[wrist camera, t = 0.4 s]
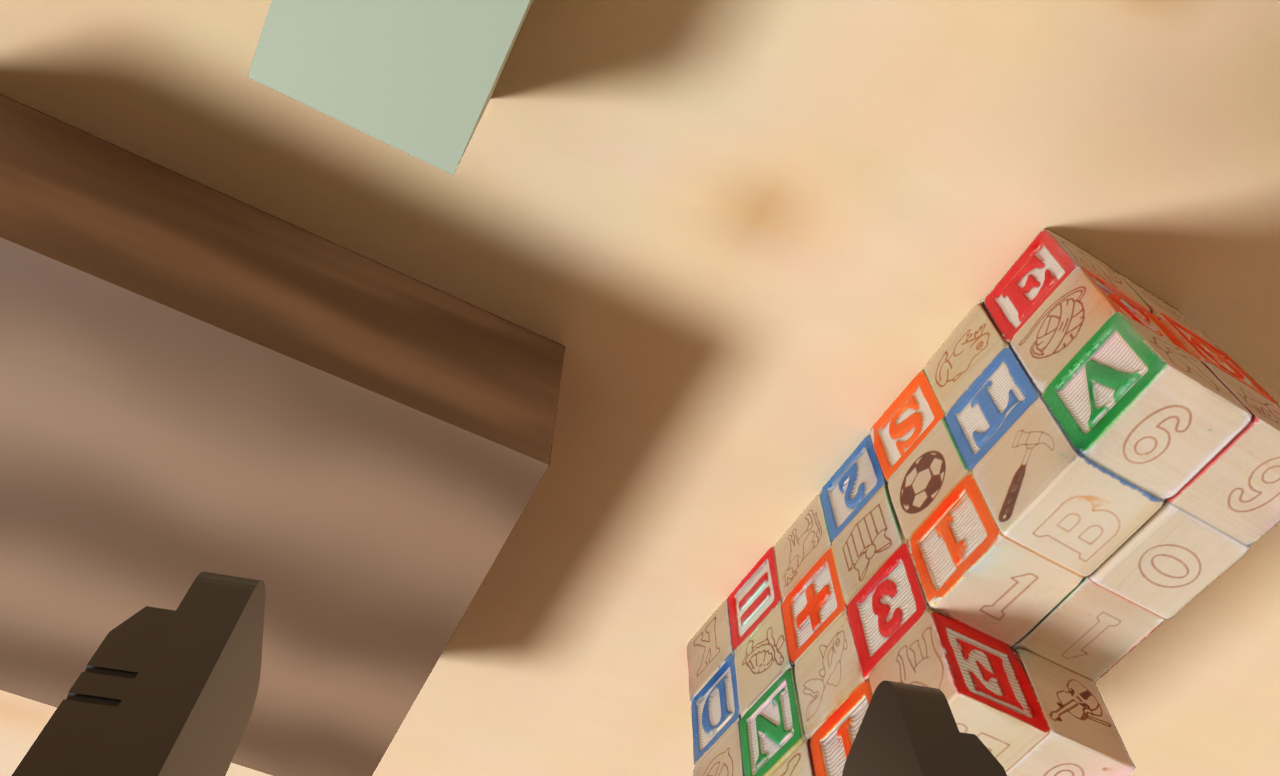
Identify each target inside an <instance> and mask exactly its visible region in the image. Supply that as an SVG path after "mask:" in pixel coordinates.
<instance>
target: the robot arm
mask: <svg viewBox="0 0 1280 776" xmlns="http://www.w3.org/2000/svg"><path fill="white" fill-rule="evenodd" d="M265 592H266V591H265V583H264V581H262V580H255V579H249V578H243V577H236V576H230V575H224V574H217V573H211V572H201V573H200V574H199V575H198V576H197V577H196V578H195V580H194V582H193V583H192V585H191V586H190V588H189V590H188V591H187V593H186V595H185V596H184V598H183V600H182V601H181V603H180V605H179V606H178V608H177V610H176V611H175V610H169V609H162V608H156V607H149V606H146V607H144V608H143V609H141V610H140V611H138V612H137V613H136V614H134V615H133V616H131V617H130V618H128V619H127V620H126V621H124V622H123V623H121V624H120V625H118V626H117V627H116V628H114V629H113V630H111V631H110V632H109V633H108V634H107V636H106V637H105V639H104V640H103V642H102V643H101V645H100V646H99V648H98V649H97V651H96V652H95V654H94V655H93V656H92V658H91V659H90V661H89V662H88V664H87V667H86V670H85V672H82V673H81V674H80V676H79V677H78V679H77V680H76V682H75V683H74V684H73V686H72V687H71V689H70V690H69V692H68V696H67V699H66V700H65V699H63V701H62V702H61V704H60V705H59V707H58V708H57V710H56V711H55V713H54V714H53V715H52V717H51V718H50V720H49V721H48V723H47V724H46V726H45V727H44V729H43V730H42V732H41V733H40V735H39V736H38V738H37V739H36V741H35V742H34V743H33V745H32V746H31V748H30V749H29V751H28V752H27V754H26V755H25V757H24V758H23V760H22V761H21V763H20V764H19V766H18V767H17V769H16V770H15V772H14V773H13V774H12V776H225V775H226V772H227V770H228V768H229V766H230V763H231V761H232V759H233V757H234V754H235V752H236V750H237V748H238V745H239V743H240V741H241V738H242V736H243V734H244V732H245V729H246V727H247V725H248V722H249V720H250V717H251V714H252V711H253V707H254V704H255V700H256V696H257V692H258V687H259V681H260V674H261V659H262V643H263V627H264V610H265ZM842 776H1007V774H1006V772H1005V770H1004V767H1003V766H1002V765H1001V764H1000V763H999V762H998V760H997V759H996V758H995V757H994V756H993V754H992V753H991V752H990V751H989V750H988V749H987V747H986V746H985V745H984V744H983V743H982V741H981V740H980V739H979V738H978V737H977V736H976V735H975V734H969V733H962V732H959V729H958V727H957V724H956V722H955V719H954V717H953V714H952V711H951V709H950V706H949V704H948V701H947V699H946V697H945V695H944V693H943V692H942V691H941V690H940V689H937V688H931V687H925V686H919V685H912V684H906V683H900V682H893V681H887V680H885V681H882V682H881V683H880V684H879V685H878V686H877V688H876V689H875V692H874V694H873V696H872V699H871V701H870V703H869V706H868V708H867V711H866V713H865V715H864V718H863V720H862V723H861V725H860V727H859V730H858V732H857V735H856V737H855V739H854V742H853V744H852V747H851V749H850V751H849V754H848V756H847V759H846V762H845V765H844V768H843V774H842Z"/></svg>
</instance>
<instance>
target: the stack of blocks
mask: <svg viewBox="0 0 1280 776" xmlns="http://www.w3.org/2000/svg"><path fill="white" fill-rule="evenodd" d="M1277 405H1278V404H1277V403H1276V401H1275V400H1274V399H1273V398H1272V397H1271V396H1270V395H1269V394H1268V393H1267V392H1266V391H1265V390H1264V389H1263V388H1262V387H1261V386H1260V385H1259V384H1258V383H1256V382H1255V381H1254V380H1253V379H1252V378H1251V377H1250V376H1249V375H1248V374H1247V373H1246V372H1245V371H1244V370H1243V369H1242V368H1241V367H1240V366H1239V365H1238V364H1237V363H1235V362H1234V361H1233V360H1232V359H1231V358H1230V357H1229V356H1228V355H1227V354H1225V353H1224V352H1223V351H1222V350H1221V349H1220V348H1219V347H1218V346H1216V345H1215V344H1214V343H1213V342H1212V341H1211V340H1210V339H1209V338H1208V337H1207V336H1206V335H1205V334H1203V333H1202V332H1201V331H1200V330H1199V329H1198V328H1197V327H1196V326H1195V325H1194V324H1193V323H1192V322H1191V321H1189V320H1188V319H1187V318H1186V317H1185V316H1184V315H1183V314H1182V313H1181V312H1179V311H1177V310H1176V309H1174V308H1173V307H1171V306H1169V305H1168V304H1166V303H1165V302H1163V301H1161V300H1160V299H1158V298H1157V297H1155V296H1153V295H1152V294H1150V293H1149V292H1147V291H1146V290H1144V289H1142V288H1141V287H1139V286H1138V285H1136V284H1134V283H1133V282H1131V281H1130V280H1128V279H1127V278H1125V277H1123V276H1122V275H1120V274H1118V273H1117V272H1115V271H1114V270H1113V269H1111V268H1110V267H1109V266H1107V265H1106V264H1104V263H1103V262H1101V261H1100V260H1098V259H1096V258H1095V257H1093V256H1092V255H1090V254H1089V253H1087V252H1085V251H1084V250H1082V249H1081V248H1079V247H1077V246H1076V245H1074V244H1072V243H1071V242H1069V241H1067V240H1066V239H1064V238H1062V237H1060V236H1058V235H1057V234H1055V233H1053V232H1051V231H1049V230H1045V229H1043V230H1042V231H1041V232H1040V233H1039V234H1038V235H1037V237H1036V238H1035V239H1034V241H1033V242H1032V243H1031V244H1030V246H1029V247H1028V248H1027V249H1026V250H1025V252H1024V253H1023V254H1022V255H1021V256H1020V258H1019V259H1018V260H1017V261H1016V262H1015V264H1014V265H1013V266H1012V267H1011V268H1010V270H1009V271H1008V272H1007V273H1006V275H1005V276H1004V277H1003V278H1002V279H1001V280H1000V282H999V283H998V284H997V285H996V287H995V288H994V290H993V291H992V292H991V293H990V294H989V295H988V296H987V297H986V299H985V301H984V303H983V304H978V305H977V306H975V307H974V309H973V310H972V311H971V312H970V313H969V315H968V316H967V317H966V318H965V319H964V320H963V322H962V323H961V324H960V325H959V326H958V327H957V328H956V330H955V331H954V332H953V333H952V334H951V336H950V337H949V338H948V339H947V340H946V342H945V343H944V344H943V345H942V346H941V347H940V349H939V350H938V351H937V352H936V353H935V354H934V356H933V357H932V358H931V359H930V361H929V362H928V363H927V365H926V367H925V368H924V370H923V371H921V372H920V373H919V374H918V375H917V376H916V377H915V378H914V379H913V380H912V381H911V382H910V384H909V385H908V386H907V387H906V388H905V389H904V391H903V392H902V393H901V394H900V395H899V396H898V398H897V399H896V400H895V401H894V402H893V403H892V404H891V406H890V407H889V408H888V409H887V410H886V411H885V413H884V414H883V415H882V416H881V417H880V419H879V420H878V421H877V422H876V423H875V424H874V425H873V427H872V428H871V431H870V434H869V435H868V436H867V437H866V438H865V439H864V440H863V441H862V442H861V443H860V445H859V446H858V447H857V448H856V450H855V451H854V452H853V453H852V454H851V456H850V457H849V458H848V459H847V460H846V461H845V462H844V464H843V465H842V466H841V467H840V469H839V470H838V471H837V472H836V473H835V474H834V475H833V477H832V478H831V479H830V480H829V481H828V482H827V484H826V485H825V486H824V487H823V488H822V491H821V493H820V494H819V495H817V496H816V497H815V499H814V500H813V501H812V502H811V503H810V504H809V506H808V507H807V508H806V509H805V510H804V511H803V513H802V514H801V515H800V516H799V517H798V518H797V520H796V521H795V522H794V523H793V525H792V526H791V527H790V528H789V529H788V530H787V531H786V533H785V534H784V535H783V536H782V537H781V539H780V540H779V541H778V542H777V544H776V545H775V546H774V547H771V548H770V549H769V550H768V551H767V553H766V554H765V555H764V556H763V557H762V558H761V559H760V560H759V562H758V563H757V564H756V565H755V566H754V568H753V569H752V570H751V571H750V572H749V573H748V575H747V576H746V577H745V578H744V579H743V580H742V582H741V583H740V584H739V585H738V586H737V587H736V589H735V590H734V591H733V592H732V593H731V595H730V596H729V597H728V599H727V600H725V601H724V602H723V603H722V604H721V605H720V607H719V608H718V609H717V610H716V611H715V612H714V613H713V615H712V616H711V617H710V618H709V619H708V620H707V622H706V623H705V624H704V625H703V626H702V627H701V629H700V630H699V631H698V632H697V633H696V635H695V636H694V637H693V638H692V639H691V640H690V642H689V643H688V645H687V659H688V669H689V693H690V701H691V702H692V706H691V708H692V727H693V749H694V765H695V767H694V771H693V776H842V774H843V768H844V765H845V762H846V759H847V756H848V754H849V751H850V749H851V747H852V744H853V742H854V739H855V737H856V735H857V732H858V730H859V727H860V725H861V723H862V720H863V718H864V715H865V713H866V711H867V708H868V706H869V703H870V701H871V699H872V696H873V694H874V692H875V689H876V688H877V686H878V685H879V684H880V683H881V682H882V681H885V680H887V681H893V682H900V683H906V684H912V685H919V686H925V687H931V688H937V689H940V690H941V691H942V692H943V693H944V695H945V697H946V699H947V701H948V704H949V706H950V709H951V711H952V714H953V717H954V719H955V722H956V724H957V727H958V729H959V732H962V733H969V734H975V735H976V736H977V737H978V738H979V739H980V740H981V741H982V743H983V744H984V745H985V746H986V747H987V749H988V750H989V751H990V752H991V753H992V754H993V756H994V757H995V758H996V759H997V760H998V762H999V763H1000V764H1001V765H1002V766H1003V767H1004V770H1005V772H1006V774H1007V776H1129V775H1130V774H1131V773H1132V772H1133V771H1134V769H1135V765H1134V763H1133V762H1132V760H1131V758H1130V757H1129V755H1128V752H1127V750H1126V748H1125V746H1124V743H1123V741H1122V739H1121V737H1120V735H1119V733H1118V731H1117V729H1116V727H1115V725H1114V722H1113V720H1112V718H1111V716H1110V714H1109V712H1108V710H1107V708H1106V706H1105V704H1104V702H1103V700H1102V697H1101V695H1100V693H1099V691H1098V689H1097V687H1096V684H1095V682H1096V681H1097V680H1098V679H1099V678H1101V677H1102V676H1103V675H1104V674H1105V673H1106V672H1107V671H1109V670H1110V669H1111V668H1112V667H1113V666H1114V665H1116V664H1117V663H1118V662H1119V661H1120V660H1121V659H1122V658H1123V657H1124V656H1125V655H1127V654H1128V653H1129V652H1130V651H1131V650H1132V649H1133V648H1134V647H1136V646H1137V645H1138V644H1139V643H1140V642H1141V641H1142V640H1144V639H1145V638H1146V637H1147V636H1148V635H1149V634H1150V633H1151V632H1153V631H1154V630H1155V629H1156V628H1157V627H1158V626H1159V625H1160V624H1161V623H1162V622H1163V621H1164V620H1165V619H1168V618H1171V617H1173V616H1174V615H1175V614H1176V613H1177V612H1178V611H1180V610H1181V609H1182V608H1183V607H1184V606H1185V605H1187V604H1188V603H1189V602H1190V601H1191V600H1192V599H1193V598H1195V597H1196V596H1197V595H1198V594H1199V593H1200V592H1201V591H1203V590H1204V589H1205V588H1206V587H1207V586H1208V585H1209V584H1211V583H1212V582H1213V581H1214V580H1215V579H1216V578H1218V577H1219V576H1220V575H1221V574H1222V573H1223V572H1225V571H1226V570H1227V569H1228V568H1229V567H1230V566H1231V565H1233V564H1234V563H1235V562H1236V561H1237V560H1238V559H1240V558H1241V557H1242V556H1243V555H1244V554H1245V553H1246V552H1247V551H1248V550H1249V548H1250V544H1252V543H1253V542H1255V541H1257V540H1258V539H1259V538H1260V537H1261V536H1263V535H1264V534H1265V533H1266V532H1267V531H1268V530H1269V529H1271V528H1272V527H1273V526H1274V525H1275V524H1276V523H1278V522H1279V521H1280V408H1279V407H1278V406H1277Z"/></svg>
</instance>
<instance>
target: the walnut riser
mask: <svg viewBox="0 0 1280 776" xmlns="http://www.w3.org/2000/svg"><path fill="white" fill-rule="evenodd" d="M564 349H565V347H564V346H562V345H560V344H558V343H555V342H553V341H551V340H549V339H546V338H544V337H542V336H540V335H537V334H535V333H533V332H531V331H528V330H526V329H524V328H522V327H520V326H517V325H515V324H513V323H511V322H508V321H506V320H504V319H502V318H499V317H497V316H495V315H493V314H490V313H488V312H486V311H484V310H481V309H479V308H477V307H475V306H473V305H470V304H468V303H466V302H464V301H461V300H459V299H457V298H455V297H452V296H450V295H448V294H446V293H443V292H441V291H439V290H437V289H434V288H432V287H430V286H428V285H425V284H423V283H421V282H419V281H417V280H414V279H412V278H410V277H408V276H405V275H403V274H401V273H399V272H396V271H394V270H392V269H390V268H387V267H385V266H383V265H381V264H378V263H376V262H374V261H372V260H369V259H367V258H365V257H363V256H361V255H358V254H356V253H354V252H352V251H349V250H347V249H345V248H343V247H340V246H338V245H336V244H334V243H331V242H329V241H327V240H325V239H322V238H320V237H318V236H316V235H314V234H311V233H309V232H307V231H305V230H302V229H300V228H298V227H296V226H293V225H291V224H289V223H287V222H284V221H282V220H280V219H278V218H275V217H273V216H271V215H269V214H266V213H264V212H262V211H260V210H258V209H255V208H253V207H251V206H249V205H246V204H244V203H242V202H240V201H237V200H235V199H233V198H231V197H228V196H226V195H224V194H222V193H219V192H217V191H215V190H213V189H211V188H208V187H206V186H204V185H202V184H199V183H197V182H195V181H193V180H190V179H188V178H186V177H184V176H181V175H179V174H177V173H175V172H172V171H170V170H168V169H166V168H163V167H161V166H159V165H157V164H155V163H152V162H150V161H148V160H146V159H143V158H141V157H139V156H137V155H134V154H132V153H130V152H128V151H125V150H123V149H121V148H119V147H116V146H114V145H112V144H110V143H107V142H105V141H103V140H101V139H99V138H96V137H94V136H92V135H90V134H87V133H85V132H83V131H81V130H78V129H76V128H74V127H72V126H69V125H67V124H65V123H63V122H60V121H58V120H56V119H54V118H52V117H49V116H47V115H45V114H43V113H40V112H38V111H36V110H34V109H31V108H29V107H27V106H25V105H22V104H20V103H18V102H16V101H13V100H11V99H9V98H7V97H4V96H2V95H0V690H3V691H6V692H9V693H13V694H16V695H19V696H22V697H25V698H29V699H32V700H35V701H38V702H41V703H44V704H48V705H51V706H54V707H57V708H58V707H59V705H60V704H61V702H62V701H63V699H65V700H66V699H67V696H68V692H69V690H70V689H71V687H72V686H73V684H74V683H75V682H76V680H77V679H78V677H79V676H80V674H81V673H82V672H85V670H86V667H87V664H88V662H89V661H90V659H91V658H92V656H93V655H94V654H95V652H96V651H97V649H98V648H99V646H100V645H101V643H102V642H103V640H104V639H105V637H106V636H107V634H108V633H109V632H110V631H111V630H113V629H114V628H116V627H117V626H118V625H120V624H121V623H123V622H124V621H126V620H127V619H128V618H130V617H131V616H133V615H134V614H136V613H137V612H138V611H140V610H141V609H143V608H144V607H146V606H149V607H156V608H162V609H169V610H175V611H176V610H177V608H178V606H179V605H180V603H181V601H182V600H183V598H184V596H185V595H186V593H187V591H188V590H189V588H190V586H191V585H192V583H193V582H194V580H195V578H196V577H197V576H198V575H199V574H200V573H201V572H211V573H217V574H224V575H230V576H236V577H243V578H249V579H255V580H262V581H264V583H265V591H266V592H265V610H264V627H263V643H262V659H261V674H260V681H259V687H258V692H257V696H256V700H255V704H254V707H253V711H252V714H251V717H250V720H249V722H248V725H247V727H246V729H245V732H244V734H243V736H242V738H241V741H240V743H239V745H238V748H237V750H236V752H235V754H234V757H233V759H232V761H231V762H232V763H235V764H238V765H241V766H244V767H248V768H251V769H254V770H257V771H260V772H264V773H267V774H270V775H273V776H372V775H373V773H374V771H375V769H376V768H377V766H378V764H379V762H380V761H381V759H382V757H383V755H384V754H385V752H386V750H387V748H388V747H389V745H390V743H391V741H392V740H393V738H394V736H395V734H396V733H397V731H398V729H399V727H400V725H401V724H402V722H403V720H404V718H405V717H406V715H407V713H408V711H409V710H410V708H411V706H412V704H413V703H414V701H415V699H416V697H417V696H418V694H419V692H420V690H421V689H422V687H423V685H424V683H425V682H426V680H427V678H428V676H429V675H430V673H431V671H432V669H433V668H434V666H435V664H436V662H437V661H438V659H439V657H440V655H441V654H442V652H443V650H444V648H445V647H446V645H447V643H448V641H449V640H450V638H451V636H452V634H453V633H454V631H455V629H456V627H457V626H458V624H459V622H460V620H461V619H462V617H463V615H464V613H465V612H466V610H467V608H468V606H469V605H470V603H471V601H472V599H473V598H474V596H475V594H476V592H477V591H478V589H479V587H480V585H481V584H482V582H483V580H484V578H485V577H486V575H487V573H488V571H489V570H490V568H491V566H492V564H493V563H494V561H495V559H496V557H497V556H498V554H499V552H500V550H501V549H502V547H503V545H504V543H505V542H506V540H507V538H508V536H509V535H510V533H511V531H512V529H513V528H514V526H515V524H516V522H517V521H518V519H519V517H520V515H521V514H522V512H523V510H524V508H525V507H526V505H527V503H528V501H529V500H530V498H531V496H532V494H533V493H534V491H535V489H536V487H537V486H538V484H539V482H540V480H541V479H542V477H543V475H544V473H545V472H546V470H547V468H548V466H549V463H550V456H551V448H552V440H553V433H554V425H555V417H556V410H557V402H558V394H559V387H560V379H561V372H562V364H563V356H564Z"/></svg>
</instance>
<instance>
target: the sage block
mask: <svg viewBox="0 0 1280 776" xmlns="http://www.w3.org/2000/svg"><path fill="white" fill-rule="evenodd" d="M532 3H533V0H272V1H271V5H270V8H269V11H268V14H267V17H266V20H265V24H264V27H263V30H262V33H261V36H260V39H259V42H258V46H257V49H256V52H255V55H254V58H253V61H252V65H251V68H250V71H249V74H248V78H250V79H253V80H255V81H257V82H259V83H261V84H263V85H265V86H267V87H269V88H271V89H274V90H276V91H278V92H280V93H282V94H284V95H286V96H288V97H290V98H292V99H294V100H297V101H299V102H301V103H303V104H305V105H307V106H309V107H311V108H313V109H315V110H318V111H320V112H322V113H324V114H326V115H328V116H330V117H332V118H334V119H336V120H339V121H341V122H343V123H345V124H347V125H349V126H351V127H353V128H355V129H357V130H359V131H362V132H364V133H366V134H368V135H370V136H372V137H374V138H376V139H378V140H380V141H383V142H385V143H387V144H389V145H391V146H393V147H395V148H397V149H399V150H401V151H404V152H406V153H408V154H410V155H412V156H414V157H416V158H418V159H420V160H422V161H424V162H427V163H429V164H431V165H433V166H435V167H437V168H439V169H441V170H443V171H445V172H448V173H450V174H452V175H454V173H455V171H456V169H457V167H458V165H459V162H460V160H461V158H462V156H463V154H464V152H465V150H466V148H467V146H468V144H469V142H470V140H471V138H472V136H473V133H474V131H475V129H476V127H477V125H478V123H479V121H480V119H481V117H482V115H483V113H484V111H485V109H486V107H487V104H488V102H489V100H490V98H491V96H492V94H493V91H494V89H495V87H496V85H497V82H498V80H499V78H500V75H501V73H502V71H503V69H504V66H505V64H506V62H507V59H508V57H509V55H510V53H511V50H512V48H513V46H514V44H515V41H516V39H517V37H518V34H519V32H520V30H521V28H522V25H523V23H524V21H525V19H526V16H527V14H528V12H529V9H530V7H531V5H532Z"/></svg>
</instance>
